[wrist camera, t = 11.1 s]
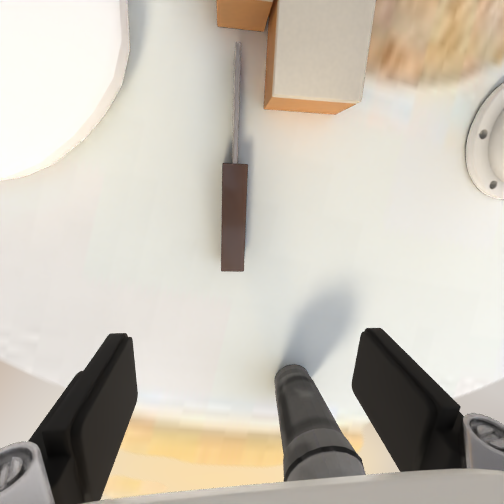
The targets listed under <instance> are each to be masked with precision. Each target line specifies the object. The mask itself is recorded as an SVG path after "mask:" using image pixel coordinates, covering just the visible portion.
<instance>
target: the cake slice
mask: <svg viewBox="0 0 504 504" xmlns="http://www.w3.org/2000/svg"><path fill="white" fill-rule="evenodd" d="M272 3H273V0H217V26H218V27H227V28H235V29H244V30H253V31H262V32H264V30H265V26H266V23H267V20H268V16H269V13H270V9H271V6H272Z"/></svg>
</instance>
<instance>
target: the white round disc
mask: <svg viewBox="0 0 504 504" xmlns="http://www.w3.org/2000/svg"><path fill="white" fill-rule="evenodd" d="M129 53H130V39H129V19H128V0H0V181H1V180H8V179H14V178H21V177H26V176H28V175H30V174H33V173H35V172H37V171H40V170H42V169H44V168H47V167H49V166H51V165H53V164H54V163H55V162H57V161H58V160H59V159H60V158H62V157H63V156H64V155H65V154H67V153H68V152H69V151H70V150H72V149H73V148H74V147H75V146H76V145H78V144H79V143H80V142H81V141H83V140H84V139H85V138H86V137H87V136H88V135H89V133H90V132H91V131H92V130H93V129H94V128H95V126H96V125H97V124H98V123H99V122H100V121H101V119H102V118H103V117H104V116H105V114H106V112H107V111H108V109H109V107H110V106H111V104H112V102H113V100H114V99H115V97H116V95H117V94H118V92H119V90H120V89H121V87H122V84H123V80H124V75H125V71H126V66H127V62H128V57H129Z"/></svg>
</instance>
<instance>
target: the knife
mask: <svg viewBox="0 0 504 504" xmlns="http://www.w3.org/2000/svg"><path fill="white" fill-rule="evenodd" d="M240 58H241V42H236V45H235V55H234V96H233V140H232V164H230V163H223V168H222V244H221V271H244V251H245V225H246V200H247V174H248V165H247V164H237V163H238V128H239V93H240Z"/></svg>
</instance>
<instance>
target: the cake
mask: <svg viewBox="0 0 504 504" xmlns="http://www.w3.org/2000/svg"><path fill="white" fill-rule="evenodd" d="M375 4H376V0H273V3H272V6H271V9H270V13H269V20H268V39H267V58H266V77H265V96H264V109H269V110H283V111H296V112H309V113H322V114H337V113H339V112H341V111H343V110H345V109H347V108H349V107H351V106H353V105H355V104H357V103H359V102H361V99H362V93H363V86H364V79H365V72H366V65H367V58H368V52H369V45H370V38H371V31H372V24H373V18H374V11H375Z"/></svg>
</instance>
